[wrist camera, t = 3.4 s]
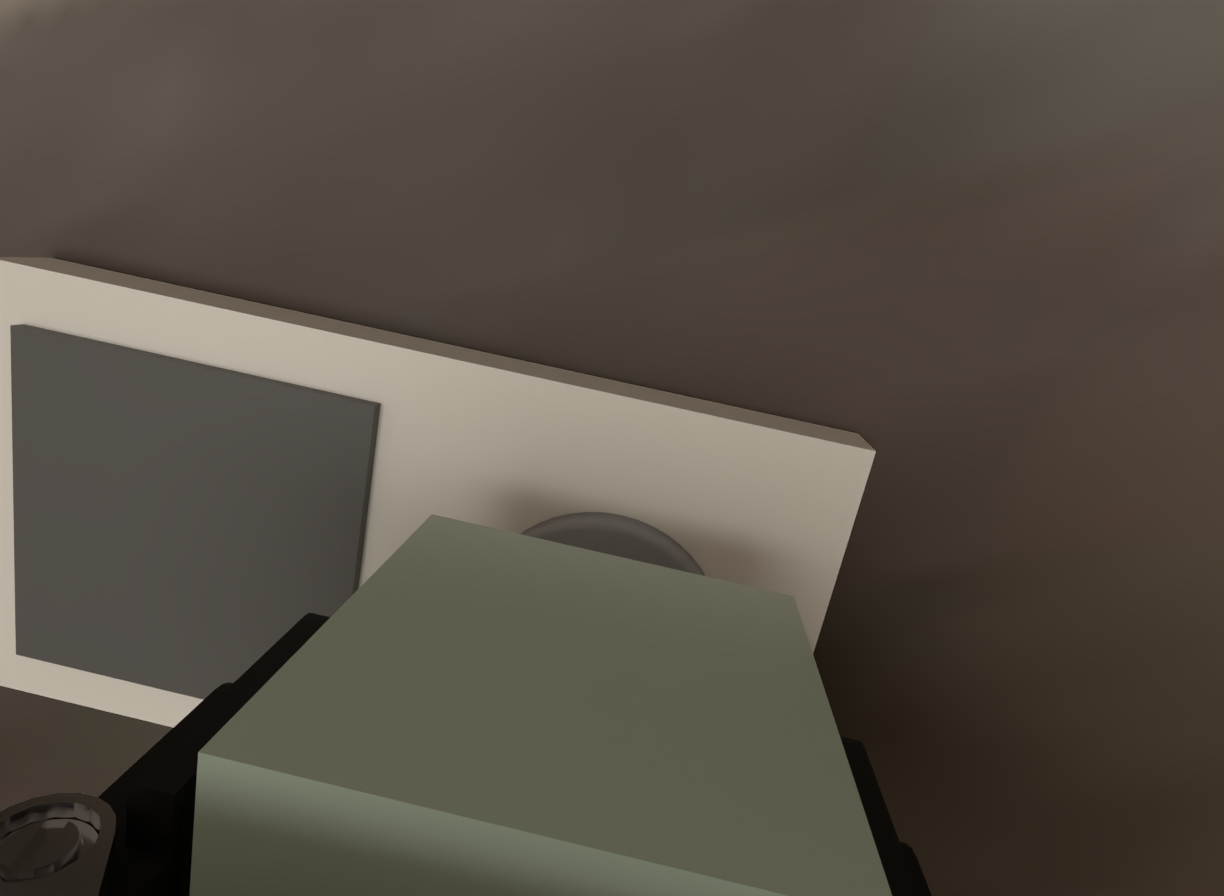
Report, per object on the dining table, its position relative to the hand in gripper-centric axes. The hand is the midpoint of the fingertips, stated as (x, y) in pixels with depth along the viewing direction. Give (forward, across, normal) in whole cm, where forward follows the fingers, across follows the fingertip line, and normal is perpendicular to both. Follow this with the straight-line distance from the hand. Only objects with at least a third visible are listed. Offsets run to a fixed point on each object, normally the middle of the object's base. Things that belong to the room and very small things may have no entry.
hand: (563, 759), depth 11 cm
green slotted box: (+1, 0, 0) cm, 1 cm away
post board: (+6, +4, 0) cm, 7 cm away
